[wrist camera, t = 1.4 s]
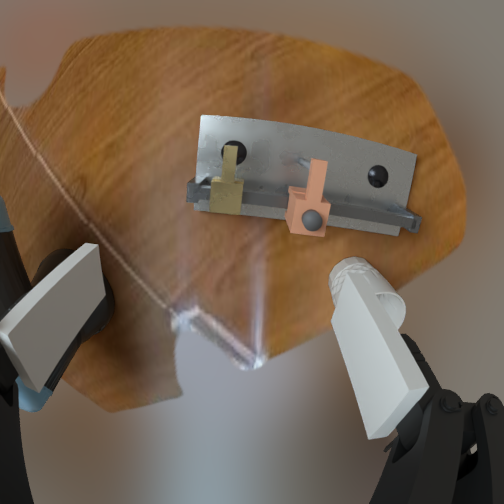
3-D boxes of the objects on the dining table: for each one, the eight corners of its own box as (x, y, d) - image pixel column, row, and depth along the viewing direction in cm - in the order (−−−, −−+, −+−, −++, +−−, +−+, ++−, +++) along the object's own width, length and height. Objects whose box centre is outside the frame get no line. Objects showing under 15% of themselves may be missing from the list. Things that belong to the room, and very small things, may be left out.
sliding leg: (281, 208, 31) (291, 238, 23) (290, 150, 28) (305, 158, 20) (307, 211, 31) (326, 242, 23) (317, 155, 28) (341, 165, 20)
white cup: (342, 243, 35) (369, 282, 26) (385, 264, 36) (418, 303, 27) (313, 291, 38) (329, 339, 29) (357, 307, 39) (379, 352, 30)
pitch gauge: (196, 206, 33) (183, 223, 27) (203, 115, 28) (190, 111, 22) (393, 232, 34) (416, 252, 28) (411, 153, 29) (439, 160, 23)
